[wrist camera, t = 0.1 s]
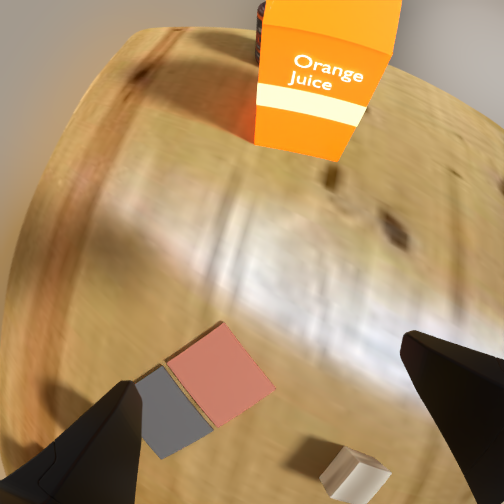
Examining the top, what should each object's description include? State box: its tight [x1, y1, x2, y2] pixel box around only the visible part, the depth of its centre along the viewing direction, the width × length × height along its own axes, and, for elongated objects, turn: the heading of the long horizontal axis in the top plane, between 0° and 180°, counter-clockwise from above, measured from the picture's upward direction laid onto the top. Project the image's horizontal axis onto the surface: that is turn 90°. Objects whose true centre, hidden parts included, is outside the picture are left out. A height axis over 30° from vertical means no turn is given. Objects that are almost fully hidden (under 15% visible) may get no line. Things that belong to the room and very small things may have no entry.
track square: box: [135, 366, 213, 459], centre depth 20 cm, size 7×6×1 cm
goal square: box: [167, 323, 276, 428], centre depth 22 cm, size 7×6×1 cm
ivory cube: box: [319, 446, 392, 504], centre depth 18 cm, size 4×4×4 cm
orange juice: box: [254, 0, 402, 162], centre depth 19 cm, size 8×9×20 cm
